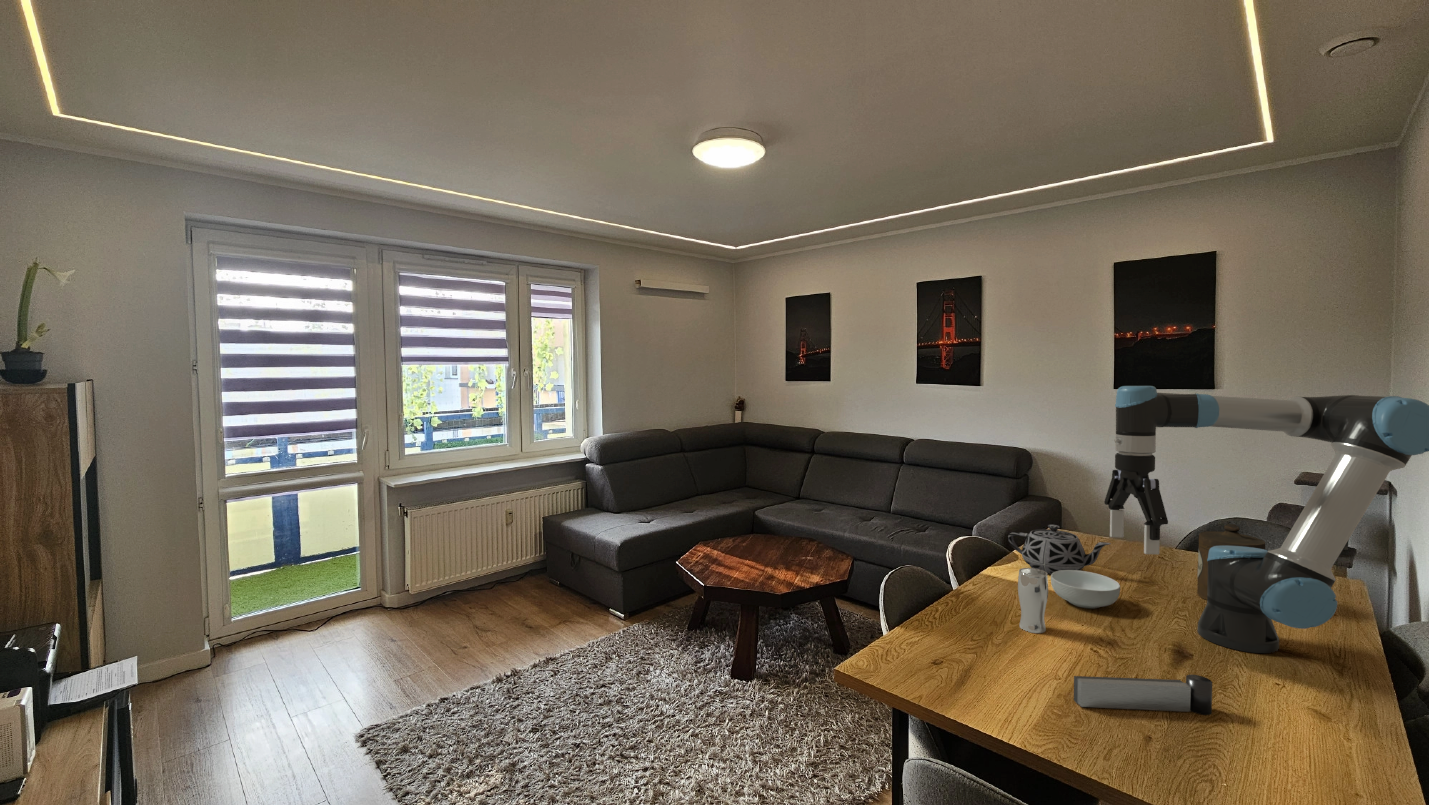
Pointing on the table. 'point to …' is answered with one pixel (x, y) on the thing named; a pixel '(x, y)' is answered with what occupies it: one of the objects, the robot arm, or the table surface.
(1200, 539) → the brown lidded jar
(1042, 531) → the teapot
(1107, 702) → the bar
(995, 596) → the table surface
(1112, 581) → the cereal bowl
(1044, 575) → the beer glass
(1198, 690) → the blade
